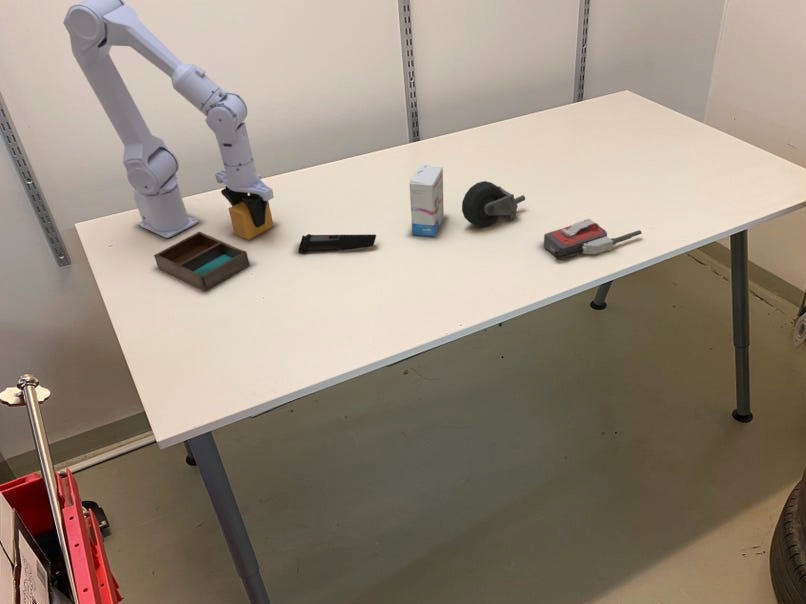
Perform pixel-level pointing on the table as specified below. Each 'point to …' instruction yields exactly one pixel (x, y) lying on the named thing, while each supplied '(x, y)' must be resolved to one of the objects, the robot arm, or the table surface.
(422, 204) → the ink box
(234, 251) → the organizer
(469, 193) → the caster wheel
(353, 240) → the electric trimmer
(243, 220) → the carton
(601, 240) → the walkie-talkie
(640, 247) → the table surface
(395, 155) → the table surface
